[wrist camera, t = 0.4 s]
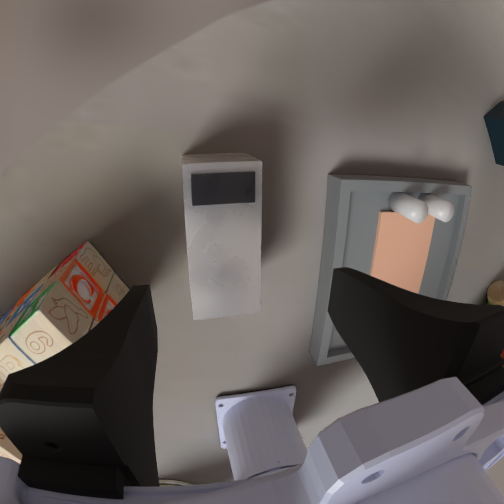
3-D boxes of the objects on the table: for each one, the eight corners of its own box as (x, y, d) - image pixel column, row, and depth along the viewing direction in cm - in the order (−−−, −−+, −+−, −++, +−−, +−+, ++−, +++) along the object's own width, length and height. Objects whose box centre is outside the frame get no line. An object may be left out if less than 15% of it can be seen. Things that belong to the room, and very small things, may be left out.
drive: (244, 276, 24) (260, 315, 19) (190, 280, 23) (193, 322, 18) (244, 152, 20) (263, 161, 15) (182, 154, 19) (182, 164, 15)
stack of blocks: (88, 235, 20) (15, 350, 9) (142, 299, 23) (126, 438, 12) (-34, 353, 21) (-78, 439, 10) (7, 392, 23) (-23, 483, 12)
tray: (423, 325, 31) (445, 347, 27) (309, 352, 28) (326, 383, 24) (457, 181, 24) (489, 193, 21) (328, 174, 22) (357, 186, 18)
